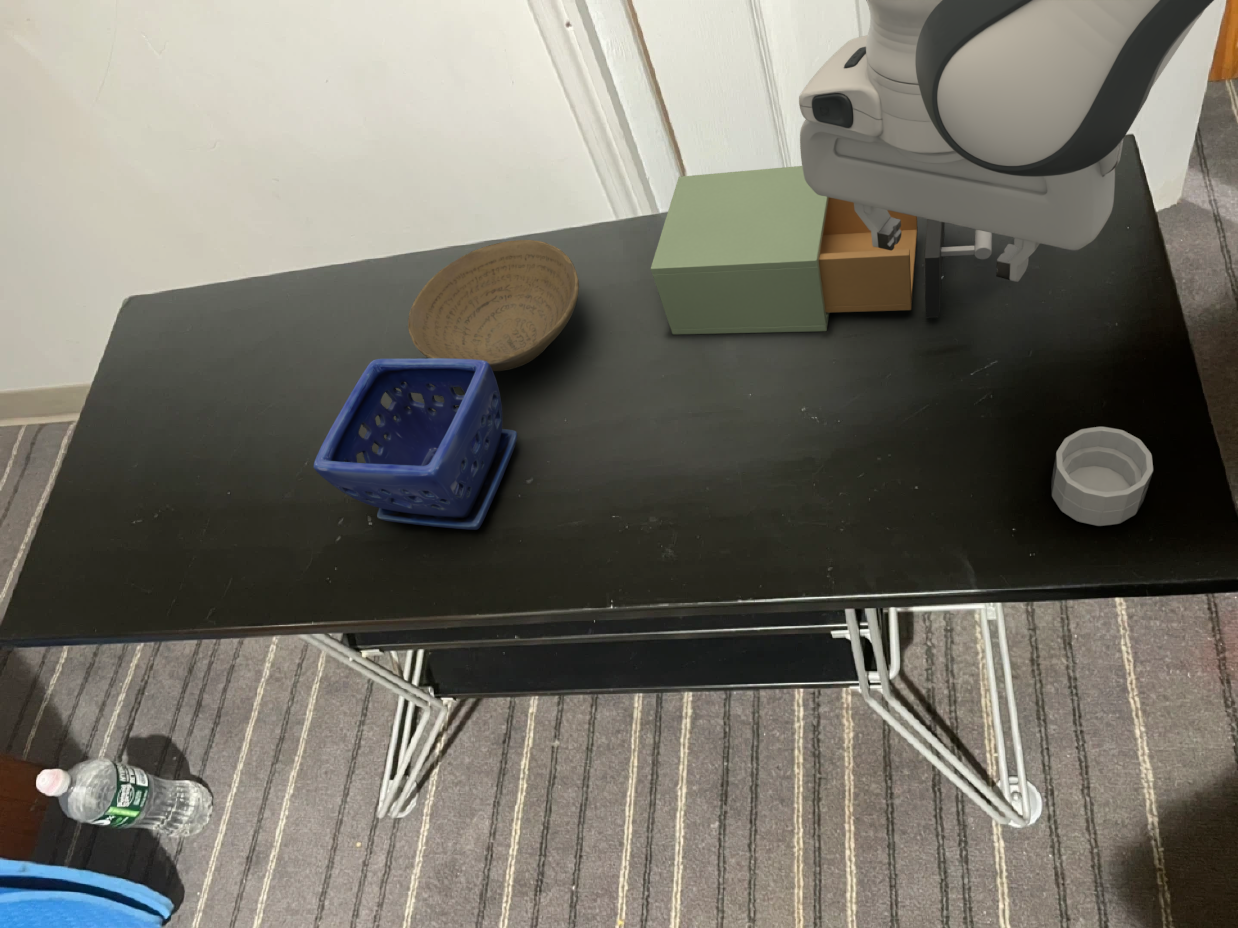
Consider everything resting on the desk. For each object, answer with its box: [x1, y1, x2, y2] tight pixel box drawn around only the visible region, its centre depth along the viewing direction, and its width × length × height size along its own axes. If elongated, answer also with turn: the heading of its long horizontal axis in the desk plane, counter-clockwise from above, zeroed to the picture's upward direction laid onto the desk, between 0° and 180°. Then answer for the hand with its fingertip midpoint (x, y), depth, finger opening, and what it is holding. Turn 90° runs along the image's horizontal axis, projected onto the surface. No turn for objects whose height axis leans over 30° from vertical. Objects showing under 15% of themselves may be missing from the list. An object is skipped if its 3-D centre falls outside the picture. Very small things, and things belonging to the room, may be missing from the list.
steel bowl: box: [1050, 426, 1154, 527], centre depth 67 cm, size 6×6×4 cm
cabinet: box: [650, 165, 830, 335], centre depth 89 cm, size 16×14×9 cm
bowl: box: [407, 239, 580, 372], centre depth 94 cm, size 18×18×8 cm
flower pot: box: [313, 357, 518, 531], centre depth 83 cm, size 13×13×12 cm
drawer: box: [818, 197, 993, 318], centre depth 84 cm, size 19×12×7 cm, turn 76°
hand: (946, 258), depth 64 cm, fingers open, 8 cm apart
